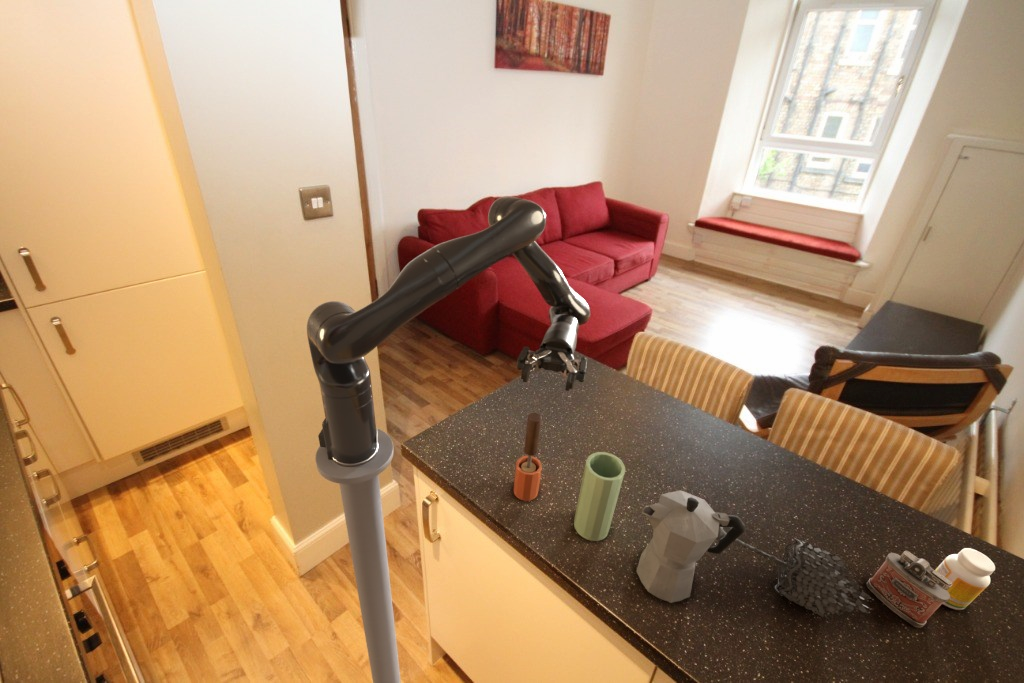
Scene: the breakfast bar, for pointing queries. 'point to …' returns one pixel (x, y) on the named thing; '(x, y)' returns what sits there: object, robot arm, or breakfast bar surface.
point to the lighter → (910, 587)
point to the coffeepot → (681, 542)
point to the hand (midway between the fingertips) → (546, 382)
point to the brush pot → (527, 480)
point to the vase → (598, 495)
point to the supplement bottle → (966, 576)
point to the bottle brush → (531, 441)
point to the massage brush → (813, 578)
